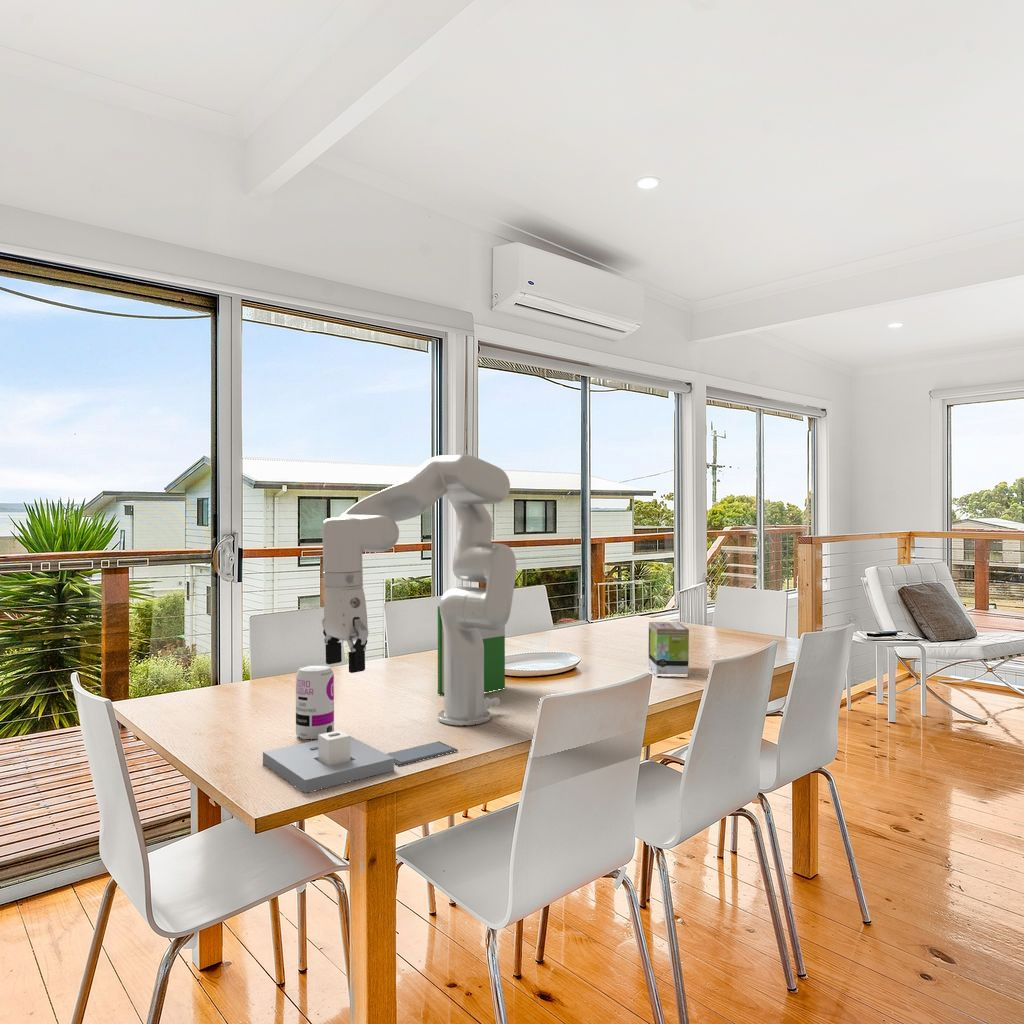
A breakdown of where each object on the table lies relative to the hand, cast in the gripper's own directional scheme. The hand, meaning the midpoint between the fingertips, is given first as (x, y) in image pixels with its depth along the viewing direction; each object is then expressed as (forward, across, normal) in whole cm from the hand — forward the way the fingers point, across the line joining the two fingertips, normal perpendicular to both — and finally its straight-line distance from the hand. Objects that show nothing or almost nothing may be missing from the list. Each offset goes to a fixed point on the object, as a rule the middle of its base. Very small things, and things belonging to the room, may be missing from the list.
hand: (345, 667), depth 145 cm
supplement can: (+20, +22, -4) cm, 30 cm away
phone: (+20, -4, -14) cm, 25 cm away
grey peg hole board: (+19, +1, +4) cm, 20 cm away
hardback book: (+21, +31, -54) cm, 65 cm away
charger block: (+19, -2, +4) cm, 20 cm away
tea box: (+22, +12, -114) cm, 117 cm away
